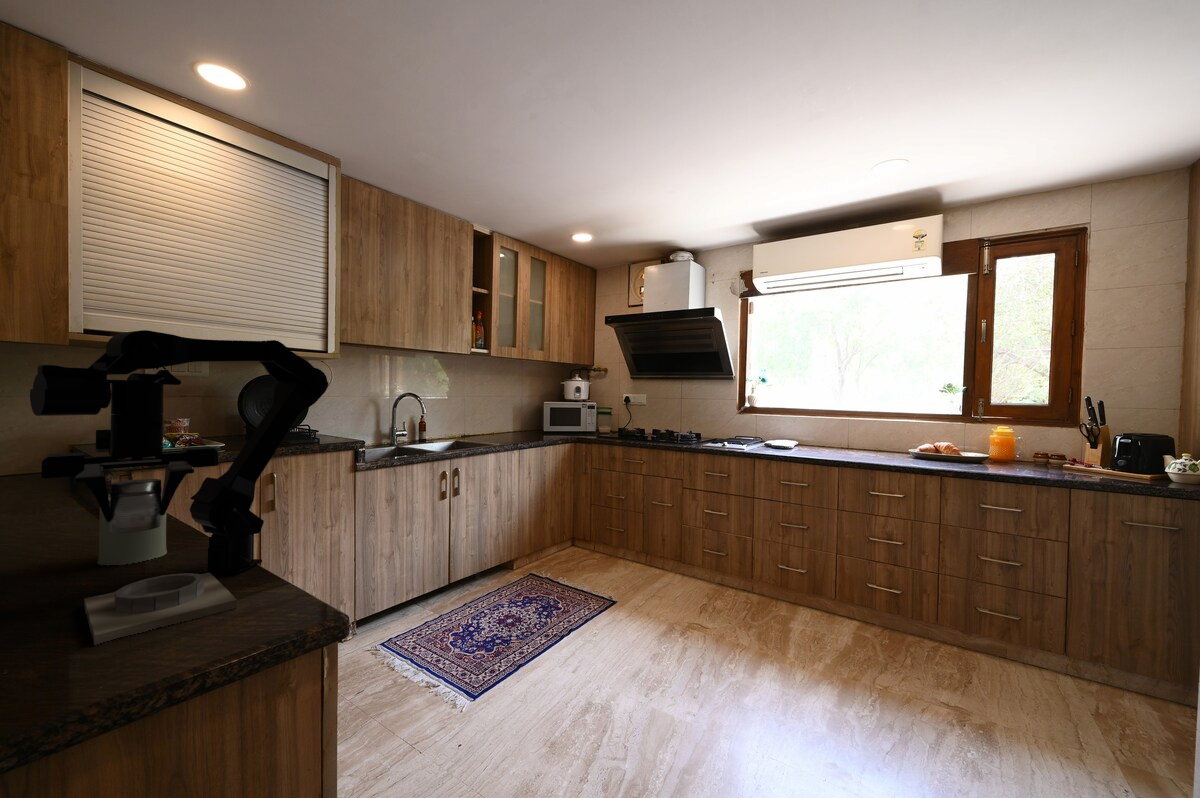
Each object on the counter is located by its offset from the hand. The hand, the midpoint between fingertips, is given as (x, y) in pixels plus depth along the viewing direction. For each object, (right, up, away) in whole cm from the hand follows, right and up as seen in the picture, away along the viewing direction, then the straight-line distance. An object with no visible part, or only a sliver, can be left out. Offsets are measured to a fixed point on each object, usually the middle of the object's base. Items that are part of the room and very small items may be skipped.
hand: (136, 518), depth 73 cm
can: (-16, -12, +16) cm, 26 cm away
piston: (0, -2, 0) cm, 2 cm away
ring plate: (+8, -12, -4) cm, 15 cm away
